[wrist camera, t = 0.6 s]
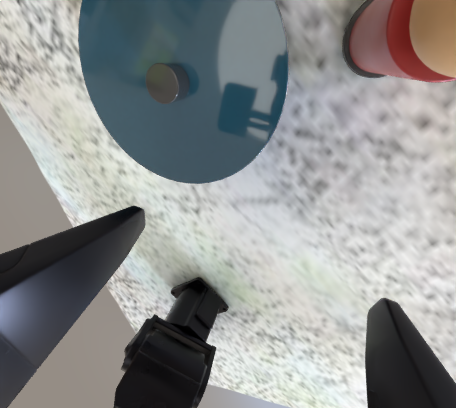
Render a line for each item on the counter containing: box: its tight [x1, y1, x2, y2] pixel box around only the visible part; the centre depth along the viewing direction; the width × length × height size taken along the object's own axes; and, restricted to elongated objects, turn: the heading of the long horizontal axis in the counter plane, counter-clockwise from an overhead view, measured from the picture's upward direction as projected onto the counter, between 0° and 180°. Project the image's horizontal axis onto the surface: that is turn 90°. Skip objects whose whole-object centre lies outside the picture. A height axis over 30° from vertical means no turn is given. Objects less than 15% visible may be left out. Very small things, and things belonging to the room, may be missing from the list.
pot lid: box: [78, 0, 289, 184], centre depth 15 cm, size 14×14×3 cm
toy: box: [343, 0, 456, 82], centre depth 10 cm, size 5×5×14 cm
